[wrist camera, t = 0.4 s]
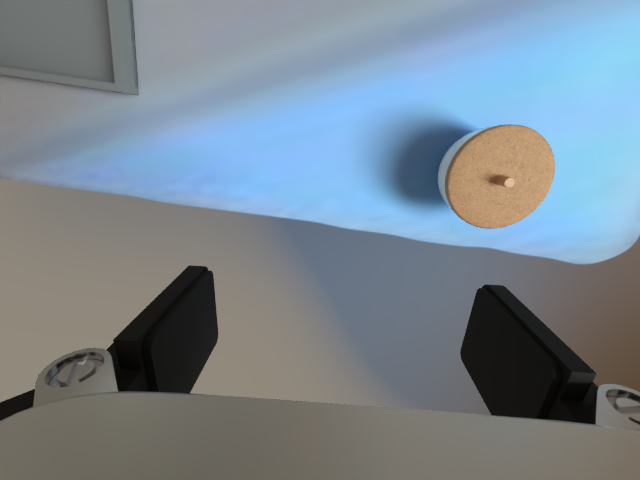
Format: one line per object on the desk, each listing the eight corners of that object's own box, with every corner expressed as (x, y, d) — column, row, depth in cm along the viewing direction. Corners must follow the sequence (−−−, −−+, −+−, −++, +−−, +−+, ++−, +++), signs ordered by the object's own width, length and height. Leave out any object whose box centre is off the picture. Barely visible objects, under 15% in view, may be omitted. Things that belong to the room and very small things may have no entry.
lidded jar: (494, 216, 40) (539, 241, 32) (416, 203, 40) (439, 224, 32) (527, 132, 37) (588, 135, 28) (441, 117, 36) (475, 115, 28)
